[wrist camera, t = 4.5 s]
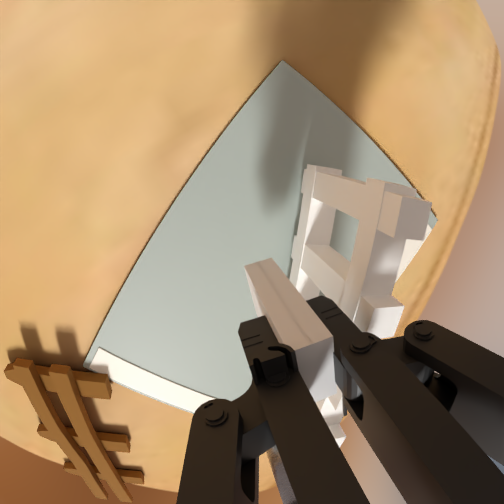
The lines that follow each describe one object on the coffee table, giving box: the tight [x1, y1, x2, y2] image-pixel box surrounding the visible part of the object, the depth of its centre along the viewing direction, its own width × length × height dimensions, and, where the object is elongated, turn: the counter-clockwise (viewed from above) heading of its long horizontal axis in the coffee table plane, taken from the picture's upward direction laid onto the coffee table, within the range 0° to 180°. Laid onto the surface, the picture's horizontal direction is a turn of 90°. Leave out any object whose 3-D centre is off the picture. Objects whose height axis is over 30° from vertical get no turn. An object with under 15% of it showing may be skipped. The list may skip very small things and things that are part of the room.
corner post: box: [266, 445, 298, 504], centre depth 19 cm, size 3×3×12 cm
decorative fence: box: [4, 358, 144, 502], centre depth 21 cm, size 25×2×10 cm
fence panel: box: [289, 164, 432, 448], centre depth 16 cm, size 18×2×9 cm, turn 173°
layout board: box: [83, 60, 438, 414], centre depth 20 cm, size 25×17×1 cm
